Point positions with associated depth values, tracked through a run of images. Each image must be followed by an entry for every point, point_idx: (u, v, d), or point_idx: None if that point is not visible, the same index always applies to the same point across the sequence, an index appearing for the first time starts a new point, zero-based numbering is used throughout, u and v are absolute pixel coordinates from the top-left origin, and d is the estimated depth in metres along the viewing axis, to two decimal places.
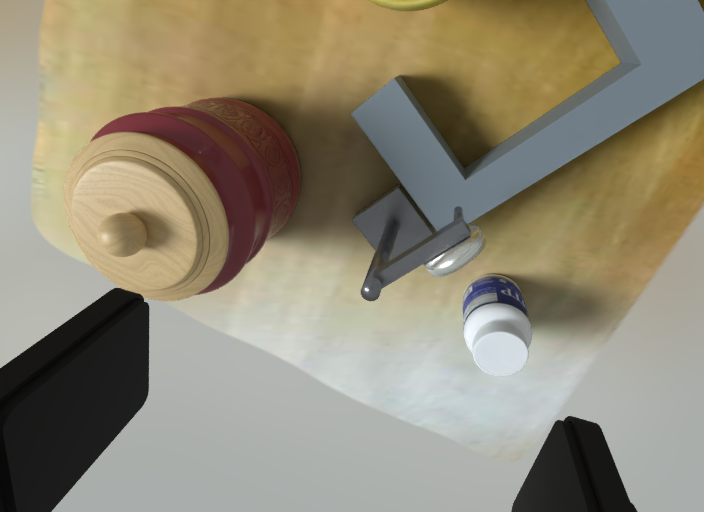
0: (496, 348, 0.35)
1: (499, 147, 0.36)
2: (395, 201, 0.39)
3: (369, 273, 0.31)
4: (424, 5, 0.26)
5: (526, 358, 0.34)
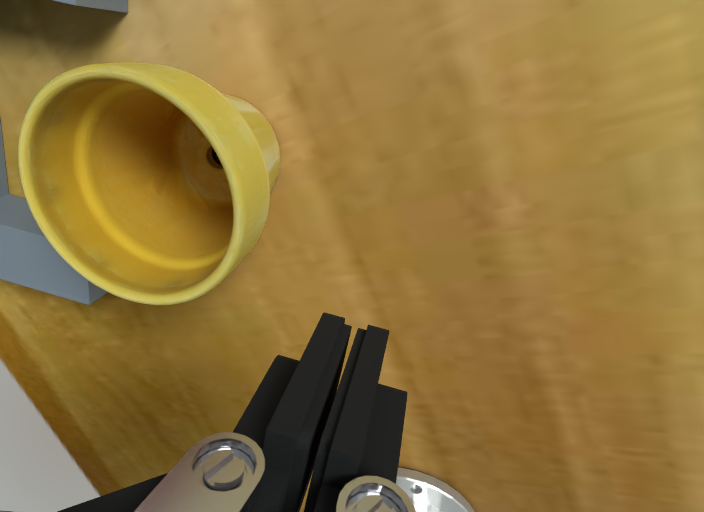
0: None
1: None
2: None
3: None
4: None
5: None
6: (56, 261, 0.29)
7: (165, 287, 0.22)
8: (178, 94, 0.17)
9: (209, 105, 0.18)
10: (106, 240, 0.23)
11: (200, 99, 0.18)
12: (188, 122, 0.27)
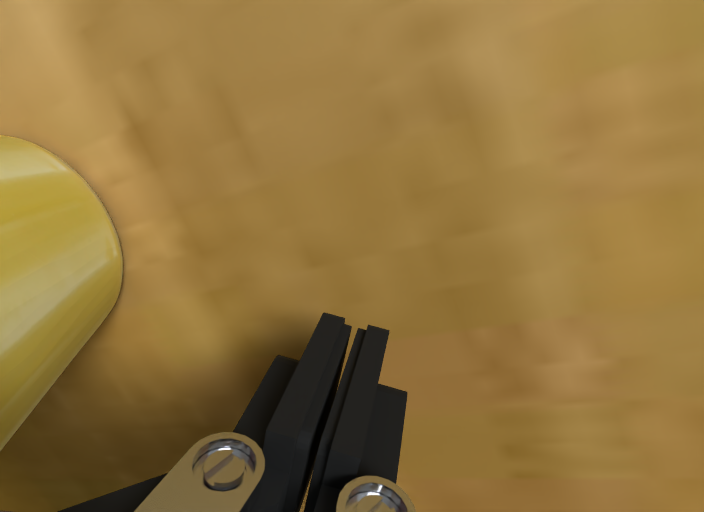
0: None
1: None
2: None
3: None
4: None
5: None
6: None
7: None
8: None
9: None
10: None
11: None
12: None
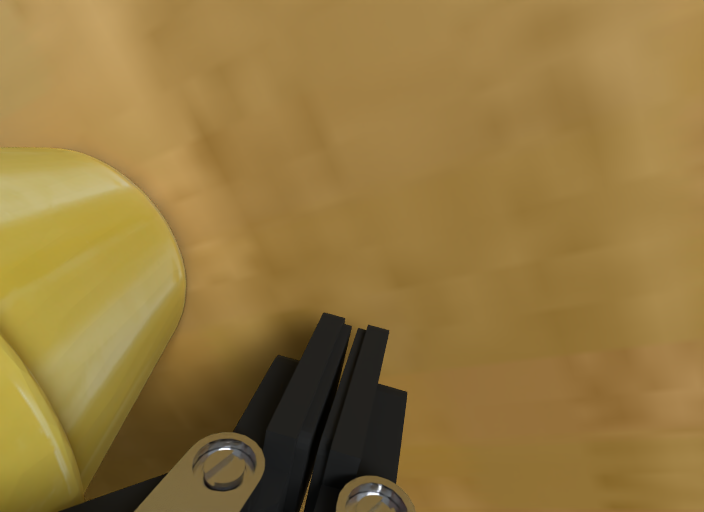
0: None
1: None
2: None
3: None
4: None
5: None
6: None
7: None
8: None
9: None
10: None
11: None
12: None
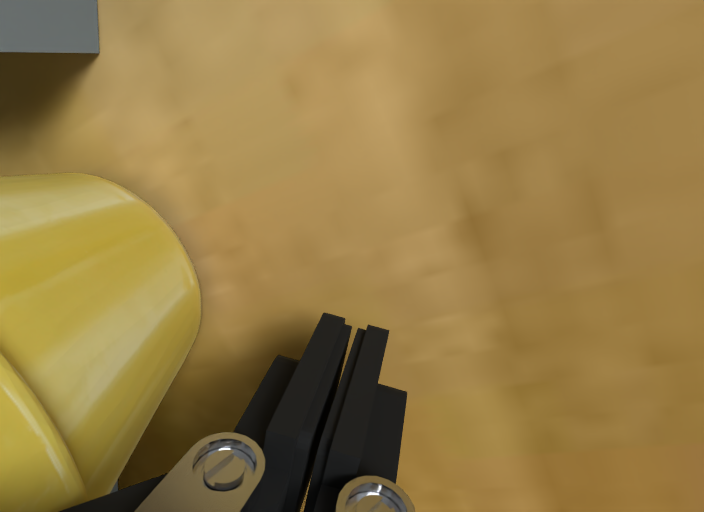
0: None
1: None
2: None
3: None
4: None
5: None
6: None
7: None
8: None
9: None
10: None
11: None
12: None
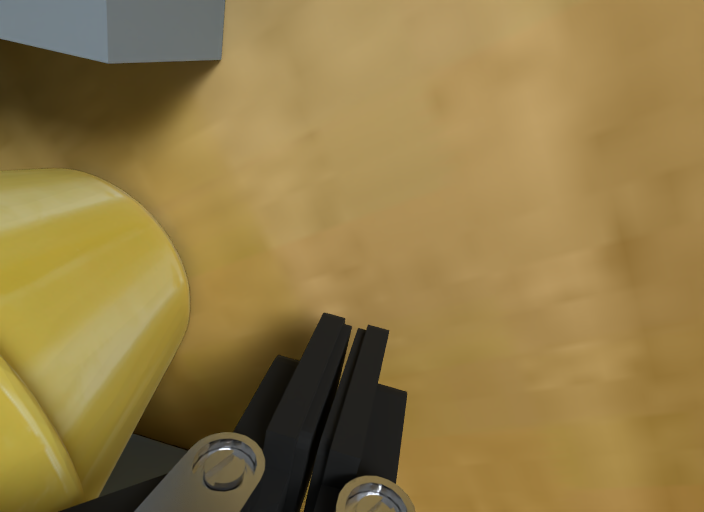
0: None
1: None
2: None
3: None
4: None
5: None
6: None
7: None
8: None
9: None
10: None
11: None
12: None
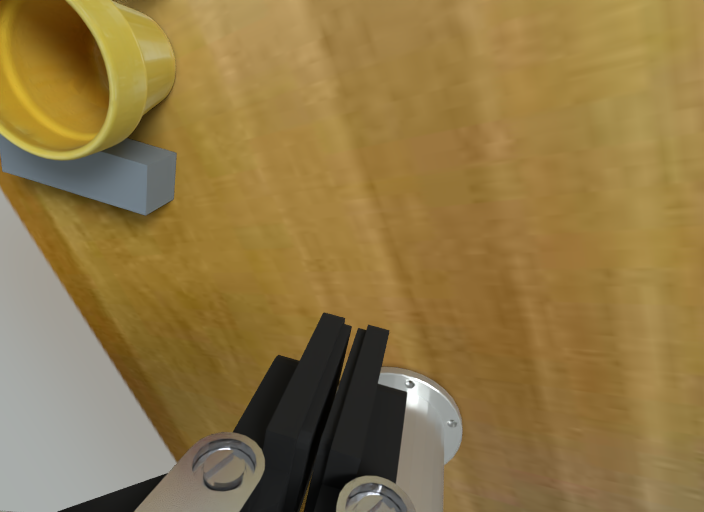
0: None
1: None
2: None
3: None
4: None
5: None
6: (120, 176, 0.35)
7: (75, 148, 0.29)
8: None
9: None
10: (33, 121, 0.30)
11: None
12: None
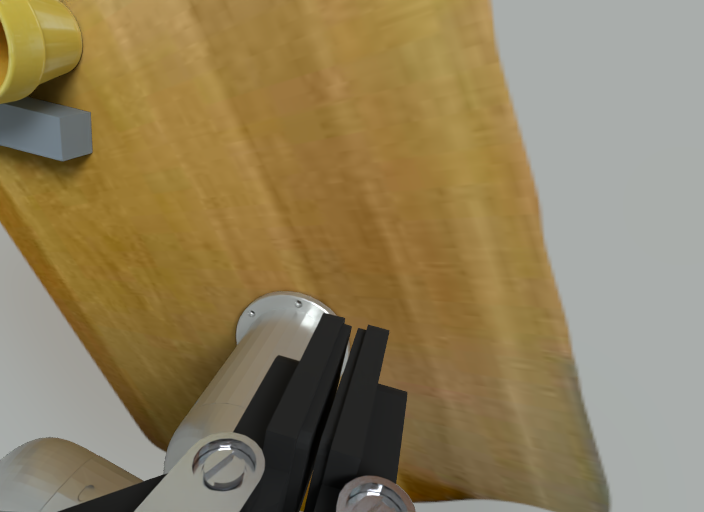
0: None
1: None
2: None
3: None
4: None
5: None
6: (39, 128, 0.43)
7: None
8: None
9: None
10: None
11: None
12: None
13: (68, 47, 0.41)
